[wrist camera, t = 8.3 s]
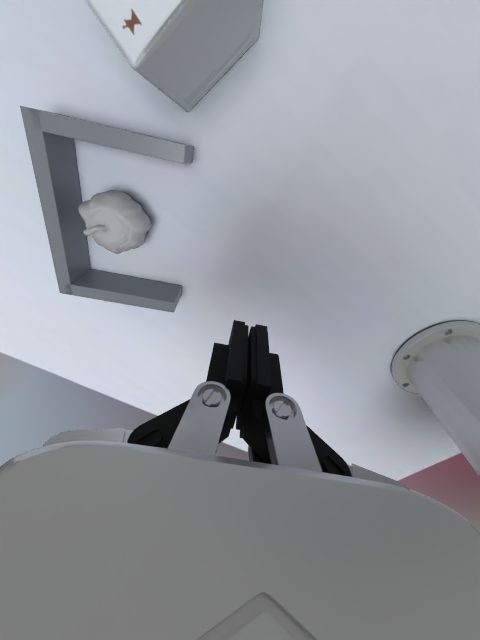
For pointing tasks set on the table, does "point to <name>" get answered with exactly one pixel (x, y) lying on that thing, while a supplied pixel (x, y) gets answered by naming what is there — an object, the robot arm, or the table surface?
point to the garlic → (115, 221)
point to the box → (65, 197)
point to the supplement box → (181, 40)
